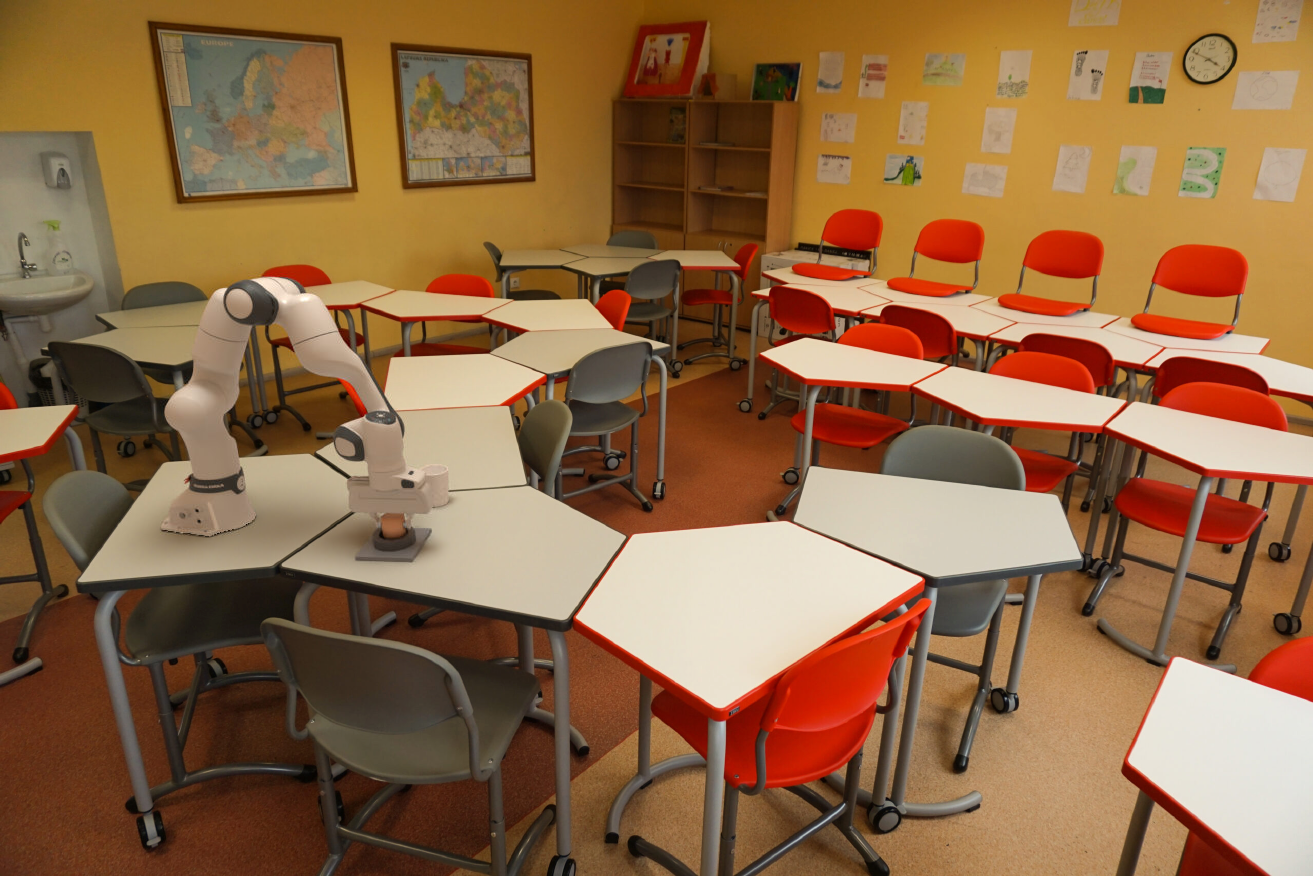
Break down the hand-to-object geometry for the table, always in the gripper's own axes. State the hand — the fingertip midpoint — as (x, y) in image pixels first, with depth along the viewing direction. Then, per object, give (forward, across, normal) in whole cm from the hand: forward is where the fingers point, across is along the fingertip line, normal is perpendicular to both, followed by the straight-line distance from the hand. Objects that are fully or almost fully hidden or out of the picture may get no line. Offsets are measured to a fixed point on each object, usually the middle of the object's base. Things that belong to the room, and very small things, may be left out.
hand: (393, 527), depth 203 cm
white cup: (+5, +3, +26) cm, 26 cm away
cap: (+2, 0, 0) cm, 2 cm away
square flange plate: (+5, 0, 0) cm, 5 cm away
